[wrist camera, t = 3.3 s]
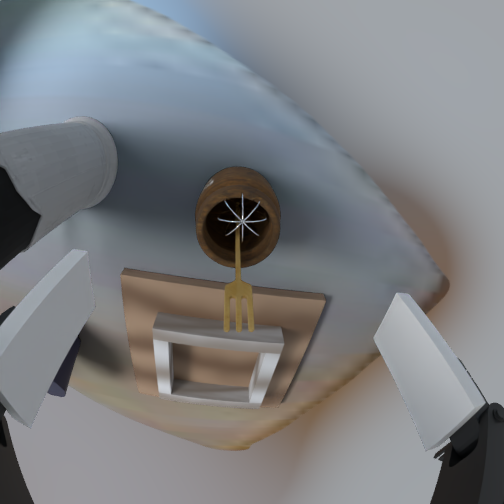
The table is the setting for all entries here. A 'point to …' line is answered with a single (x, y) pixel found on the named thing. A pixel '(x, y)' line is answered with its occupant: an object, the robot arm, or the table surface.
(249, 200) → the utensil holder
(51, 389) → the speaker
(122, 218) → the table surface
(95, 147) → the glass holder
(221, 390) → the socket plate
